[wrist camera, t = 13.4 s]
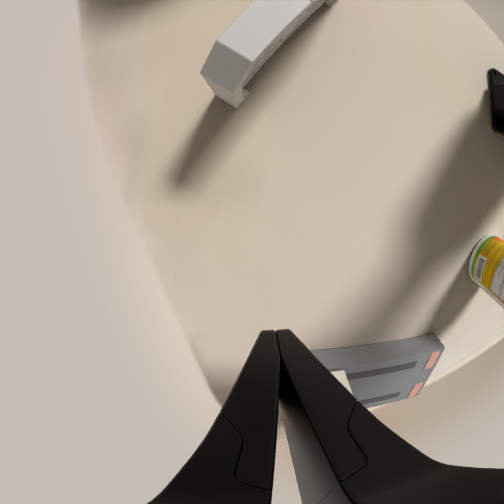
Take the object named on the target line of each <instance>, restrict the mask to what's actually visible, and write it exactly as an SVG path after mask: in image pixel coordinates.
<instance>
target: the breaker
mask: <svg viewBox="0 0 504 504" xmlns="http://www.w3.org/2000/svg"><path fill="white" fill-rule="evenodd" d="M331 373H332V374H333V375H334V376H335V377H336V378H337V379H338V380H339V381H340V382H341V383H342V384H343V385H344V386H345V387H346V388H347V390H348V391H349V392H350V393H351V394H352V395H353V393H352V391H351V388H350V385H349V382H348V379H347V377H346V374H345V371H344V370H342V371H334V372H331Z"/></svg>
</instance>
